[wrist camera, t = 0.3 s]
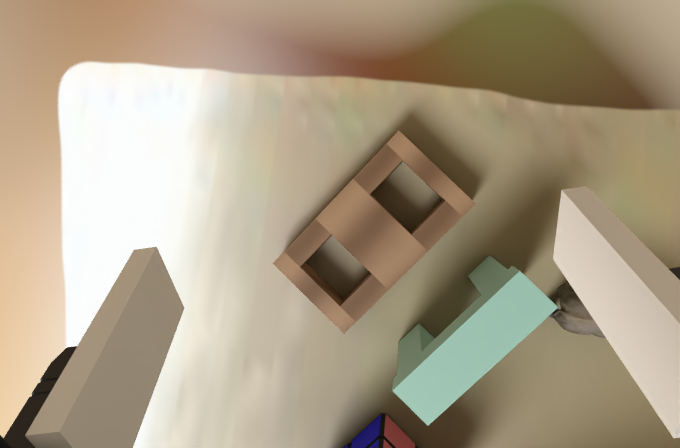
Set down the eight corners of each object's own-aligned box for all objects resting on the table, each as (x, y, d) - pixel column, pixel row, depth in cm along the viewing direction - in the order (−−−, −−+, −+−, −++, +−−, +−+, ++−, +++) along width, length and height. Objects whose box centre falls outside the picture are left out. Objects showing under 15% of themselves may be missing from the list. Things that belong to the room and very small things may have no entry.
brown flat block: (471, 202, 47) (475, 203, 44) (347, 325, 49) (344, 333, 46) (399, 133, 47) (398, 130, 44) (280, 258, 50) (272, 263, 47)
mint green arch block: (522, 279, 46) (558, 307, 36) (422, 372, 49) (427, 426, 38) (493, 251, 47) (519, 270, 36) (395, 345, 49) (392, 390, 38)
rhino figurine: (685, 338, 45) (727, 360, 39) (536, 319, 47) (556, 339, 41) (691, 296, 45) (735, 313, 39) (541, 279, 46) (562, 293, 40)
